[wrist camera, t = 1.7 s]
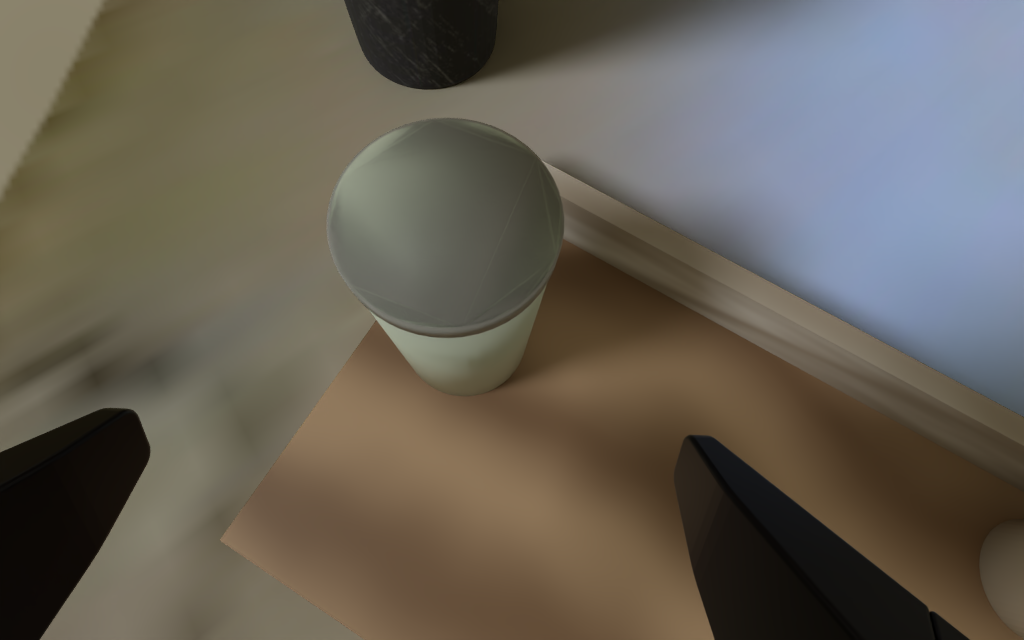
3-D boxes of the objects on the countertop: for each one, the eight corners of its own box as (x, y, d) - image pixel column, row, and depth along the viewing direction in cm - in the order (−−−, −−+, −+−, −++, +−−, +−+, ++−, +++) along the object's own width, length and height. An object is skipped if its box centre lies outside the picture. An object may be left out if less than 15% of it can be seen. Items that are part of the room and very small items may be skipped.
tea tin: (521, 404, 19) (555, 344, 10) (393, 389, 19) (301, 314, 10) (532, 285, 21) (572, 132, 11) (414, 271, 21) (353, 105, 11)
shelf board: (1008, 1067, 15) (1175, 1259, 11) (231, 537, 18) (167, 554, 15) (1108, 523, 20) (1246, 535, 16) (482, 181, 23) (481, 128, 20)
